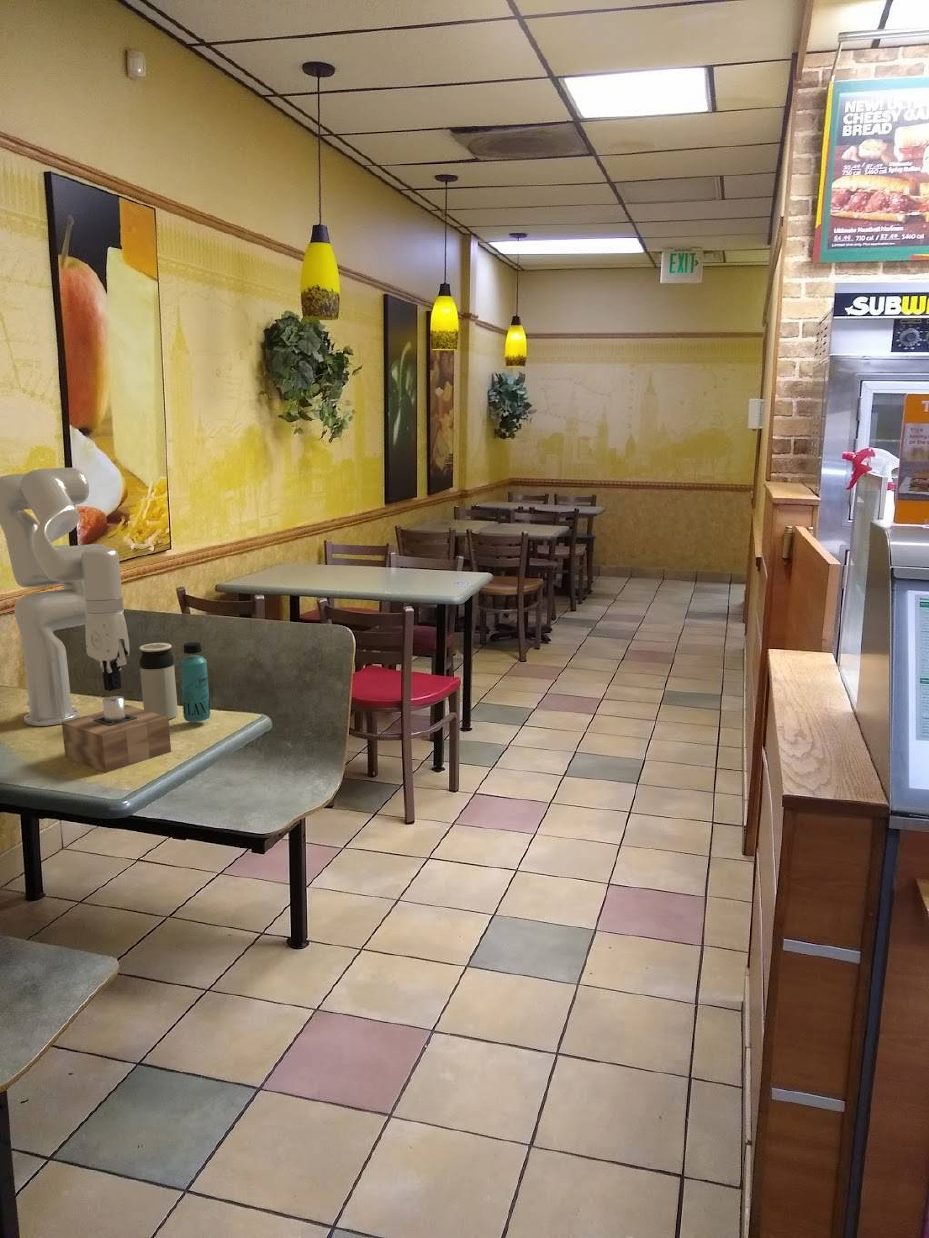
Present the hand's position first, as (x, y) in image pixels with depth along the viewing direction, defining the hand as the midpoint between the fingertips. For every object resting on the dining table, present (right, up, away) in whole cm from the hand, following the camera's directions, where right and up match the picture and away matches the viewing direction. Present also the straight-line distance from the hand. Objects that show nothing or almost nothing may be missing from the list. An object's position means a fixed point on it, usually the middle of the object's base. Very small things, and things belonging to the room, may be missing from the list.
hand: (113, 689), depth 213 cm
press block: (0, -15, +3) cm, 15 cm away
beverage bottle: (+12, -10, +24) cm, 29 cm away
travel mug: (+1, -9, +30) cm, 31 cm away
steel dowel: (0, -10, +2) cm, 11 cm away
